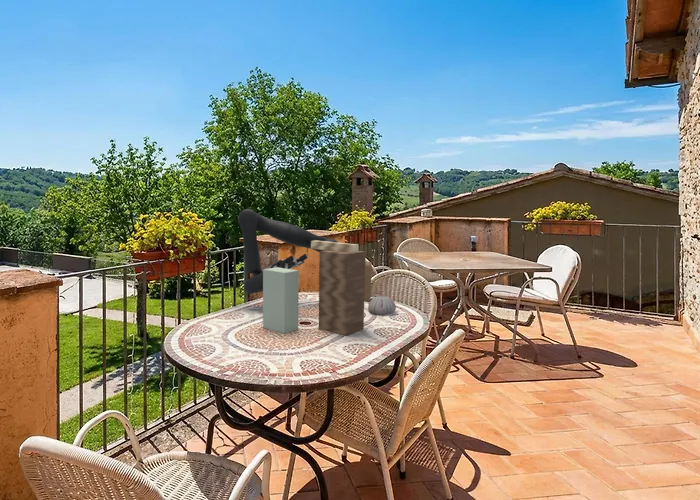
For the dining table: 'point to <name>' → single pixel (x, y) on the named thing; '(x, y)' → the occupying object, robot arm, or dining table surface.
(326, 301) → the walnut pillar
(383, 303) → the sea urchin shell
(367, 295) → the wooden block
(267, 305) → the sage pedestal
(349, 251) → the oak rod
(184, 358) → the dining table surface
